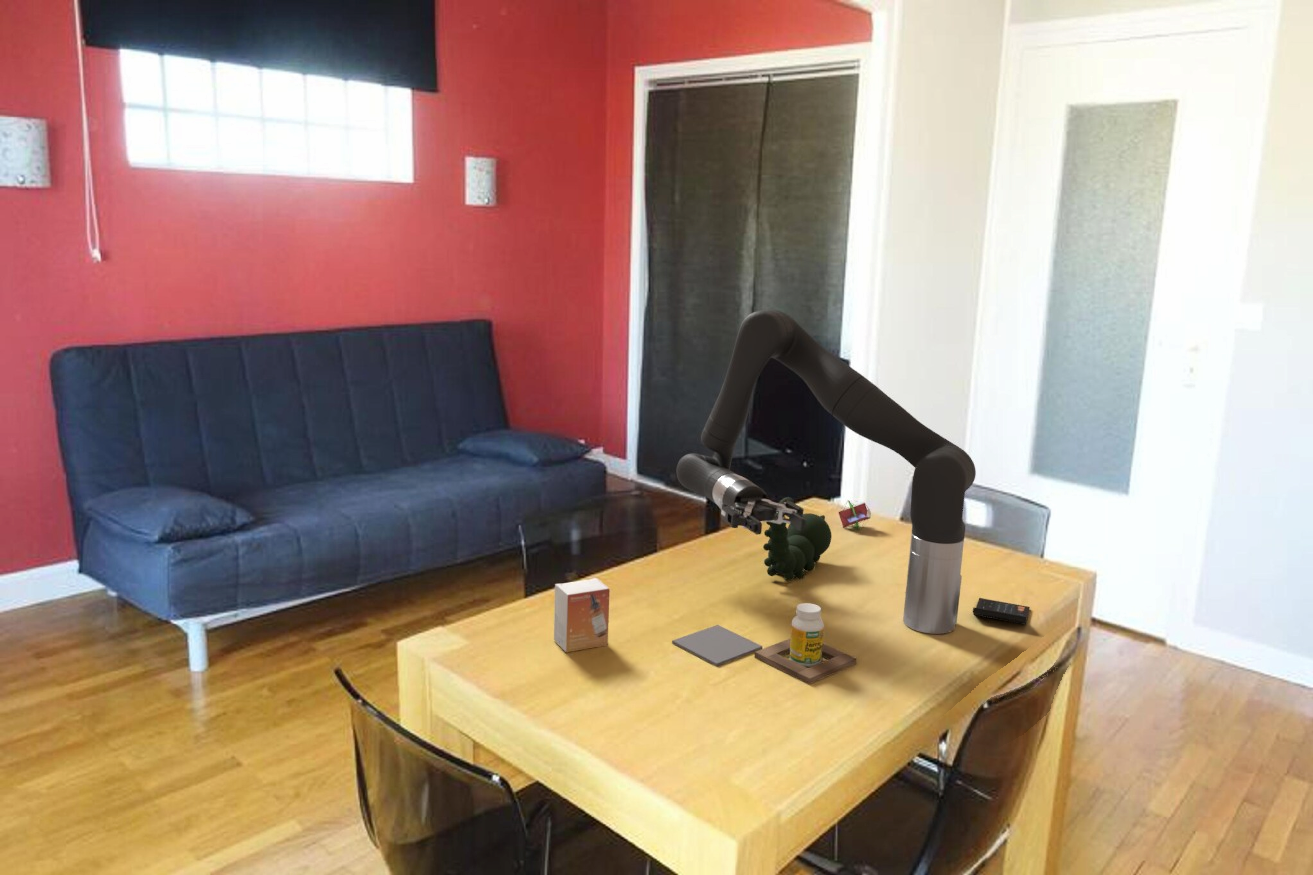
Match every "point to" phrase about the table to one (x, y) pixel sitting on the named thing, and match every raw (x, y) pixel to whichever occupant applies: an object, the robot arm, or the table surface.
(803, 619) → the supplement bottle
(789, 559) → the toy figurine
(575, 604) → the small box
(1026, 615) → the black flat block
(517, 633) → the table surface
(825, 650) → the walnut dock
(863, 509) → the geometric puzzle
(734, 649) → the charcoal mat
